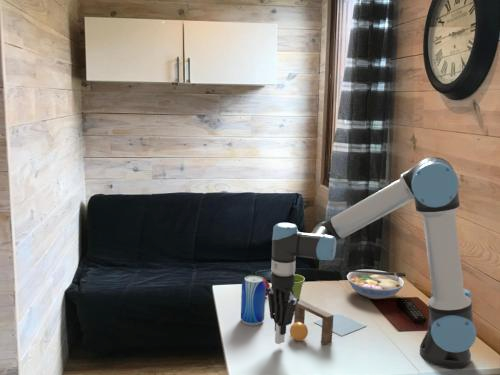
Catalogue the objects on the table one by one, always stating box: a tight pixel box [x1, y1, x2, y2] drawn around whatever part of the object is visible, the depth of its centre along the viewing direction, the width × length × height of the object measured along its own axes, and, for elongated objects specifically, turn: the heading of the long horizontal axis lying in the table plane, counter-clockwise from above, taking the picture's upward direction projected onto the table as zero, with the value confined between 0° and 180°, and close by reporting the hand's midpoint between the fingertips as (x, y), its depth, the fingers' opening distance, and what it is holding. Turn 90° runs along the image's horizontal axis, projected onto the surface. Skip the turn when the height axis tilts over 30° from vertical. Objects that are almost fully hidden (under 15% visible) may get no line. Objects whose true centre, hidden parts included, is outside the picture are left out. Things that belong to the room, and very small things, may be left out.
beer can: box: [240, 275, 266, 327], centre depth 185 cm, size 8×8×16 cm
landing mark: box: [313, 312, 367, 337], centre depth 186 cm, size 13×13×1 cm
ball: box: [289, 322, 309, 341], centre depth 174 cm, size 6×6×6 cm
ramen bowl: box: [343, 269, 406, 300], centre depth 213 cm, size 25×23×8 cm
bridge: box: [293, 299, 335, 346], centre depth 177 cm, size 3×15×10 cm, turn 39°
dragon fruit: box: [261, 276, 271, 297], centre depth 209 cm, size 8×8×12 cm
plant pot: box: [292, 273, 306, 301], centre depth 207 cm, size 9×9×9 cm
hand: (279, 342), depth 168 cm, fingers closed
